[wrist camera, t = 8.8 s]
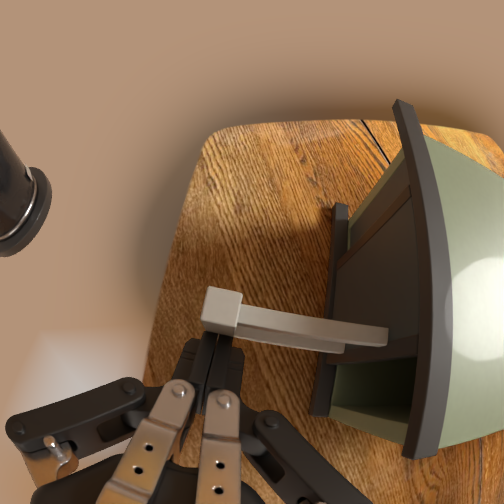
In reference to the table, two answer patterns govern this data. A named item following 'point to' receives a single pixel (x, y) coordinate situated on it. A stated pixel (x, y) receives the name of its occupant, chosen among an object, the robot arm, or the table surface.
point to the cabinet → (430, 305)
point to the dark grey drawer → (345, 300)
